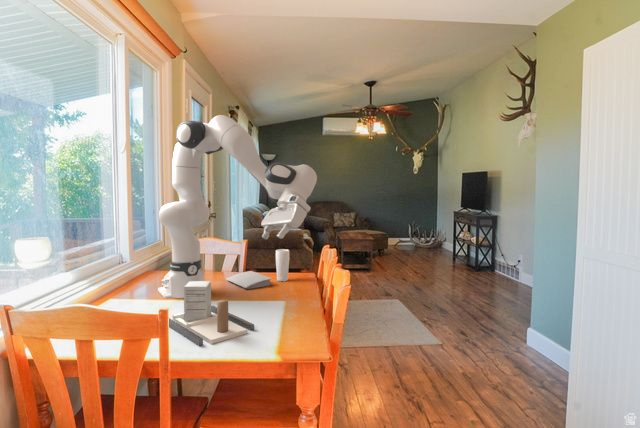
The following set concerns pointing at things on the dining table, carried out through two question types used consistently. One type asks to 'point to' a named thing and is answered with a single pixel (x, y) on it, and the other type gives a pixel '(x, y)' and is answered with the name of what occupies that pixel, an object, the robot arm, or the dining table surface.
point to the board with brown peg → (213, 325)
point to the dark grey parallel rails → (199, 340)
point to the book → (250, 280)
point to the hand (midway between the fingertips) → (271, 238)
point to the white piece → (282, 264)
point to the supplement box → (197, 300)
